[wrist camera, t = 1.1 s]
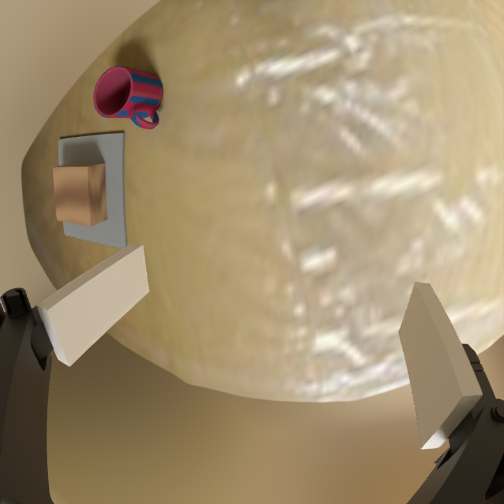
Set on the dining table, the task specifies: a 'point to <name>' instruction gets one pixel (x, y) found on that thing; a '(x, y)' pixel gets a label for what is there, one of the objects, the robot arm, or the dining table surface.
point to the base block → (80, 193)
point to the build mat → (112, 154)
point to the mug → (129, 95)
